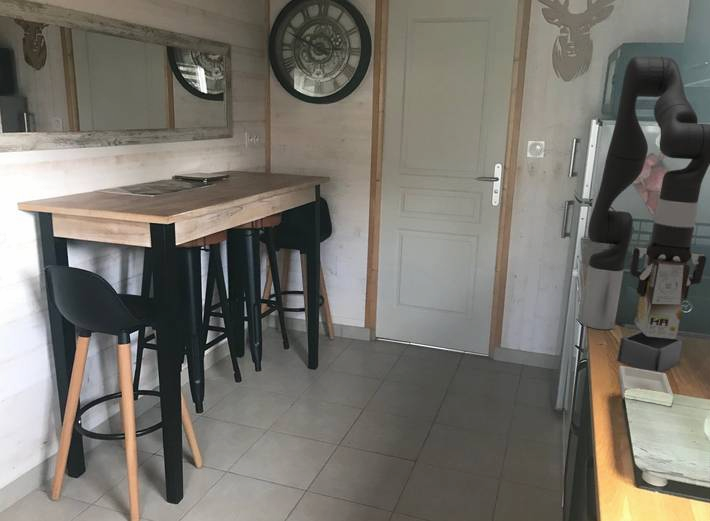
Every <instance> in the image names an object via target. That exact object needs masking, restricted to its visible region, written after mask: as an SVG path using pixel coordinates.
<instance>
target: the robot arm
mask: <svg viewBox="0 0 710 521" xmlns="http://www.w3.org/2000/svg"><path fill="white" fill-rule="evenodd" d="M638 97H641V98H642V97H646V98H648V97H650V98H658V99H657V100H656V102H655V104H654V108H653V116H654V118H655V122H656V123H657V125H658V127H659V129H660V138H659V150H660V152H661V153H662V154H663V155H664V156H666V157H667V158H671V159H679V160H680V159H682V160H691V161H690V162H689V163H688V165H686V167H684V168H681V169H675V170H674V169H673V170H669V171H667V172H665V173H664V175H663V178H662V181H661V182H662V183H661V188H660V192H659V193H660V194H659V199H658V202H657V206H656V208H655V214H654V219H653V225H652V232H651V237H650V242H649V245H648V246H647V247H639V246H633V247H632V251H631V259H630V267H629V272H630V275H631V276H632V277H636V278H637V285H636V293H637V294H638V297H639V296H640V297H644V291H645V286H646V277H647V276H648V275H649V274H650V272H651V270H652V265H653V263H652V264H651V265H650V266H649V265H648V264H646V265H645V267H644V266H643V268H642V269H641V270H638V268H639V260H640V259H642V258H643V256H645V255H646V254H647V255H648V257H649V258H650V260H651V261H652V260H653V259H657V260H672V261H674V262H686V263H688V262H689V261H690V260H691V259H692V263H693V264H694V269H693V273H692V276H688V281H687V286H686V291H685V296H684V301H686V300H687V299H688V296H689V295H688V294H689V289H690V286H691V285H694V284H695V285H696V284H697V285H699V284H701V281H702V278H703V274H704V269H705V266H706V261H707V256H706V255H704V254H703V253H699V254H697V253H692V252H691V248H692V247H691V246H692V241H693V235H694V232H695V225H696V223H697V215H698V202H699V198H700V193H701V188H702V183H703V180H704V178H705V176H706V173H707V171H708V170H709V167H710V124H709V123H699V122H698V121H699V120H698V116H697V114H696V112H695V109H694V108H693V106H692V105H691V103H690V102H689V101H688V99H687V97H686V93H685V89H684V83H683V80H682V75H681V72H680V69H679V66H678V63H677V62H676V60H675V59H674V58H671V57H667V56H649V55H648V56H644V55H643V56H642V55H641V56H639V55H638V56H633V57H632V58H630V60H629V61H628V63H627V66H626V68H625V71H624V76H623V80H622V86H621V93H620V99H619V104H618V109H617V116H616V119H615V125H614V127H613V133H612V136H611V139H610V144H609V147H608V150H607V155H606V159H605V164H604V168H603V173H602V178H601V181H600V182H601V183H600V186H599V190H598V194H597V196H596V200H595V202H594V206H593V209H592V212H591V215H590V218H589V223H588V227H587V235H588V239H589V240H590V242H592V243H598V244H609V245H612V246H611V247H610V248H608V249H606V250H604V251H601V252H600V251H599V252H596V253H593V254H591V255H590V257H589V261H588V269H587V275H586V283H585V288H584V289H582V290H581V294H580V300H579V306H578V315H577V321H576V322H578V323H581V324H582V325H584V326H585V327H589V328H591V329H596V330H612V329H614V328H615V324H616V319H617V311H618V306H619V300H620V299H619V298H620V295H621V294H620V293H621V288H622V282H623V281H622V280H623V276H624V268H625V263H626V260H627V257H628V250H629V245H630V240H631V237H632V231H633V226H634V221H633V215H632V214H631V212H628V211H623V210H622V211H620V210H610V208H611V206H612V204H613V203H614V201H615V200H616V199H617V198H618V197H619V196H620V195H621V194H622V193H624V191H625V190H626V189H627V188H629V187H630V186H631V185H632V184H633V183H634V182H635V181H636V180H637V179H638V178H639V177H640V176H641V174H642V172H643V170H644V165H645V163H646V162H645V161H646V158H647V155H648V150H649V146H648V141H647V139H646V137H645V134H644V132H643V130H642V129H643V128H642V127H641V124H640V122H639V120H638V117H637V111H636V110H637V109H636V107H637V106H636V105H637V98H638Z"/></svg>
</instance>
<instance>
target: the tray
mask: <svg viewBox="0 0 710 521" xmlns="http://www.w3.org/2000/svg"><path fill="white" fill-rule="evenodd" d="M618 380H619V386H620V387H619V388H620V392H621V397H622V399H625V398H624V393H625V391H626V390H628V389H636V388H640V389H641V390H642V389H647V390H653V391H660V392H665V393H668V394H670V395H673V396H674V394H673V390H672V388H671V386H670V382H669V379H668V377H667V374H666V373H665V372H661V373H660V372H654V371H649V370H643V369H638V368H635V367H632V366H631V367H630V366H624V365H619V370H618Z"/></svg>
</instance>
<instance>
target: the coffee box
mask: <svg viewBox="0 0 710 521" xmlns="http://www.w3.org/2000/svg"><path fill="white" fill-rule="evenodd" d="M652 263H653V265H652V270H651V272H650V274H649V275H648V276H647V277H646V286H645V291H644V297H640V296H639V295H638V298H637V299H638V301H637V304H636V310H635V316H634V317H635V318H634V322H633V323H634V324H635V325H636V327H637V328H638V329H639V331H642V332H643V333H644V334H645V335H646V336H649V337H659V338H669V339H676V338H677V336H678V331H679V327H680V321H681V316H682V311H683V310H682V309H683V306H684V301H685V300H684V296H685V291H686V286H687V281H688V277H690V276H689V275H690V269H691V264H689V263H688V262H674V261H672V260H657V259H653V260H652V261H651V260H650V258H649V257H648V255H647V253H645V259H644V266H643V268H644V267H645V265H646V264H648V265H649V266H650V265H651V264H652Z"/></svg>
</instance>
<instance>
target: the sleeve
mask: <svg viewBox="0 0 710 521" xmlns="http://www.w3.org/2000/svg"><path fill="white" fill-rule="evenodd" d="M684 342H685V340H684V339H681V338H678V337H676V339H669V338H659V337H649V336H646V335H645V334H644V333H643V332H642V331H641V330H638V331H636V332H634V333H631V334H628V335H627V336H623V337H622V338H620V342H619V343H620V344H619V349H618V354H617V360H616V361H617V362H618V363H622V364H624V365H628V366H629V367H630V366H631V368H637V369H643V370H649V371H654V372H660V373H664V372H665V371H667V370H669V369H671V368H672V367H675V366H677V365H679V364H680V363H681V362H680V361H681V357H682V352H683V348H684Z"/></svg>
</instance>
